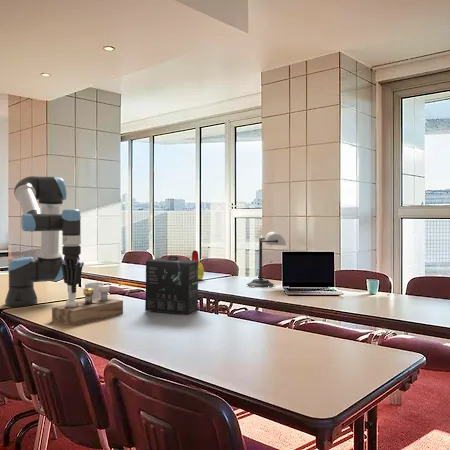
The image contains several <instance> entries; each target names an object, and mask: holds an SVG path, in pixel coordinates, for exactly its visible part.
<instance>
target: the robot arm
mask: <svg viewBox="0 0 450 450" xmlns="http://www.w3.org/2000/svg"><path fill="white" fill-rule="evenodd" d="M13 194H14V197H15V199H16V200H17V202H19V206H20V209H21V211H22V215H21V217H20V227H21V230H22V231H23V232H30V233H32V232H40V233H41V235H40V236H41V237H40V240H41V241H40V253H38V254H37V259H35V258H34V257H33V256H25V257H17V258H14V259H11V260H10V261H8V268H7V271H8V291H7V293H6V297H5V301H4V303H5V304H4V305H5V306H6V305H7V306H6V307H26V306H28V307H29V306H32V305H36V304H38V297H37V293H36V291H35V288H34V283H40V282H41V283H42V282H43V283H44V282H56V281H60V280H62V278H63V283H64V284H66V285H67V295H68V296H67V297H68V299H67V300H68V301H73V300H77V299H76V298H77V285H80V284H81V277H82V271H83V267H84V265H85V263H84V262H83V261H81V260H80V255H81V253H82V246H81V244H82V237H81V233H82V232H81V226H82V225H81V219H82V216H81V211H80V209H71V208H70V209H63V210H62V212H61V213H60V207H62V206H63V201H65V200H67V188H66V184H65V180H64V179H63V178H62V177H57V176H36V175H34V176H33V175H31V176H25V177H24V178H22V179H20V180H19V181H18V182H17V183H16V185H15V187H14V191H13ZM40 206H41V207H40ZM60 232H61V233H62V234H61V235H62V239H61V240H62V242H61V244H62V245H63V246H61V249H62V250H61V251H62V252H61V253H62V254H61V253H60V252H59V250H60V249H59V247H60V246H59V245H60V244H59V243H60V240H59V239H60ZM62 255H63V256H64V257H62Z"/></svg>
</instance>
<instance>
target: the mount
mask: <svg viewBox="0 0 450 450" xmlns="http://www.w3.org/2000/svg"><path fill="white" fill-rule="evenodd" d="M122 314H124V301H123V300H122V299H116V298H115V299H114V298H109V297H108V301H106V302H101V298H96V299H92V305H85V300H82V301H78V306H77V307H76V308H72V309H70V308H68V307H66V303H65V304H60V305H55V306H52V307H51V321H52V322H55V323H60V324H64V323H65V324H66V325H71V326H77V325H81V324H86V323H88V322H89V321H90V322H93V320H94V321H97V319H98V320H101V319H106V318H109V317H113V316H118V315H122ZM65 324H64V325H65Z"/></svg>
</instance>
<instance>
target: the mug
mask: <svg viewBox="0 0 450 450" xmlns="http://www.w3.org/2000/svg"><path fill="white" fill-rule="evenodd" d="M99 286H104V283H103V282H89V283H84V289H85V288H93V289H94V294H93V295H92V299H96V298H101V292H99Z"/></svg>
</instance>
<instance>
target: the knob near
mask: <svg viewBox="0 0 450 450" xmlns="http://www.w3.org/2000/svg"><path fill="white" fill-rule="evenodd" d="M78 302H79V300H78V299H76V300H73V301H68V299H67V300H66V301H65V304H66V307H68V308H70V309H72V308H76V307H77V306H78Z"/></svg>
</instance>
